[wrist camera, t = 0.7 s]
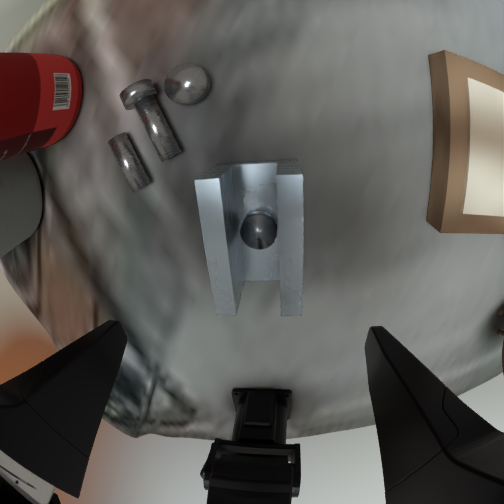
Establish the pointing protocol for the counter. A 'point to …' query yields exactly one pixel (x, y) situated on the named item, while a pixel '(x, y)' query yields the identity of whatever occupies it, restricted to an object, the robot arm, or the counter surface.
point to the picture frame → (466, 146)
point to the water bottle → (18, 201)
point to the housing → (253, 230)
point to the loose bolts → (157, 117)
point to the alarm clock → (503, 341)
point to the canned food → (36, 101)
